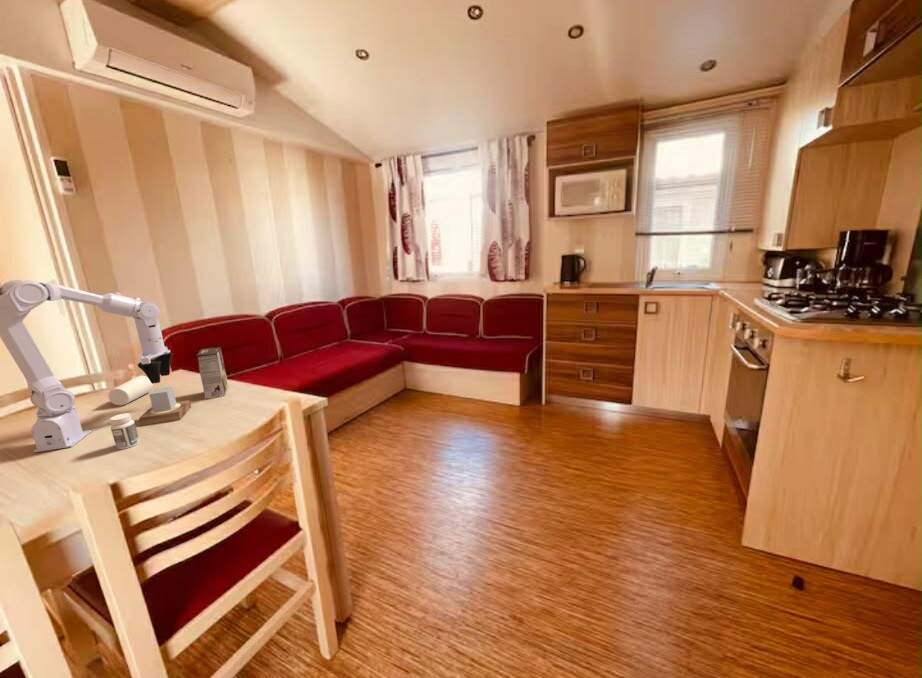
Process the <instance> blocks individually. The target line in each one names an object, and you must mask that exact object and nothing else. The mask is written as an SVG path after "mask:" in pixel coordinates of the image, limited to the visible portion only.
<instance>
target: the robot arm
mask: <svg viewBox="0 0 922 678" xmlns="http://www.w3.org/2000/svg"><path fill="white" fill-rule="evenodd" d="M57 300H67V301H70V302H71V301H73V302H76V303H83V304H87V305H92V306H97V307H98V308H99V309H100V310H101V311H102V312H104V313H109V314H113V315H117V316H123V317H129V318H130V317H131V318H133V319H134V322H135V326H136V331H137V335H138V338H139V339H138V340H139V343H140V348H141V351H142V353H141V357H140V362H138V363H137V367H138V368H139V369H140V370H142V372H143V373H144V374H145V376H147V377H148V379H149V380H150V382H151V383H152V384H153V385H154V384H159V383H161V377H165V376H170V373H171V372H170V371H171V361H172V357H173V355H174V353H173V352H171V349H168V346H165V342H164V339H163V334H162V333H163V332H162V329H161V325H160V321H159V317H160V315H161V308H159V307H158V305H157V304H155V302H152V301H144V300H143V301H142V300H141V298H139V297H134V298H133V297H130V296H129V297H128V296H125V295H122V293H121V292H115V291H113V293H112V292H108V293H105V294H102V295H101V294H96V293H93V292H88V291H85V290H81V289H77V288H75V287H74V288H73V287H69V286H65V285H61V284H56V283H49V282H48V283H47V282H38V281H35V280H27V279H26V280H22V279H21V280H19V279H13V280H8V281H6V282H4V283H3V284H2V285H1V286H0V339H1V341H2V342H3V344H4V346H5V348H6V349H7V351H8V353H9V354H10V356H11V357H12V359H13V360H14V362H15V364H16V365H17V367H18V369H19V370H20V372H21V374H22V375H23V377H24V378H25V380H26V382H27V386H28V390H30V402H31V404H33V406H35V407H38V409H37V411H36V417H37V419H36V421H35V423H34V424H33V425H32V427H31V435H32V437H33V440H34V444H35V445H36V448H35V449H34V450H33V453H40V452H46V451H55V450H59V449H65V448H71V447H73V446H75V445H76V444H77V443H79V442H80V441H81V440H83V439H84V438H85V437H87V436H88V435H89V434H90V433H92V430H90V429H88V430H83V427H82V425H81V421H80V418H79V414H78V411H77V407H76V404H75V403H76V396H75V393H72V391H71V390H67V389H66V388H65V386H64V385H63V384H62V382H61V381H60V380H59V379H58V378H57V377H56V376H55V374H54V372H53V371H52V369H51V367H50V365H49V363H47V360H46V358H45V357H44V356H43V353H42V352H41V351H40V349H39V347H38V345H37V343H36V342H35V340H34V338H33V337H32V334H31V333H30V332H29V329H28V328H27V326H26V324H25V323H24V319H25V318H27V316H28V315H29V314H30V312H31V311H32V310H34V309H36V308H38V307H39V306H40V305H41V306H42V304H44V303H45V302H46V301H48V302H49V301H50V302H51V301H52V302H53V301H57Z"/></svg>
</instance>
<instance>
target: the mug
mask: <svg viewBox="0 0 922 678" xmlns="http://www.w3.org/2000/svg"><path fill="white" fill-rule="evenodd" d="M153 389H154V383H153V384H152V383H151V382H150V380H149V379H148V377H147V375H138V376H136V377H133V378H132V379H130V380H128V381H126V382H124V383H122V384H120V385H119V386H116V387H114V388H112V389H111V390H110V391H109V393H108V399H109V401H110V402H111V404H113V405H116V406H125V405H127V404H129V403H131V402H133V401H135V400H136V399H139V398H141V397H142V396H144V395H145V394H146V395H147V394H148V393H151V392H152V391H153Z"/></svg>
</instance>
